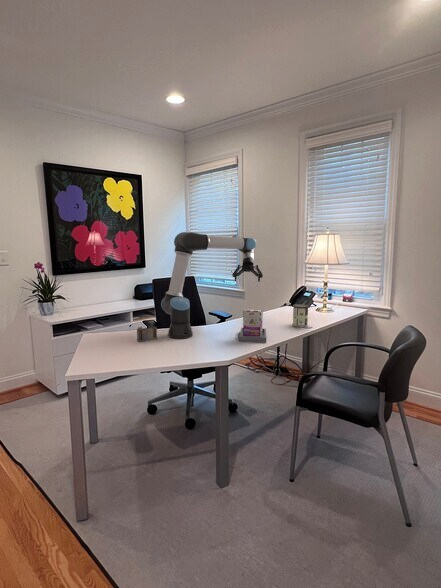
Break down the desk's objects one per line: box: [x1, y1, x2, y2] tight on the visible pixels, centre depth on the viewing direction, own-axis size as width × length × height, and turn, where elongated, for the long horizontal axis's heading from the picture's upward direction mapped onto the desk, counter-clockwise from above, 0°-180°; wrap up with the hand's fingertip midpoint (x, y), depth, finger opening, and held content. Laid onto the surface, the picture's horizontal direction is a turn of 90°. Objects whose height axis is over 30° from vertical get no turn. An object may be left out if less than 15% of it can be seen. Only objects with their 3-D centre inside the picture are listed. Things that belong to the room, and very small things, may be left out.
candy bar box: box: [242, 308, 264, 337], centre depth 215 cm, size 11×5×16 cm, turn 67°
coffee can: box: [292, 303, 309, 328], centre depth 246 cm, size 10×10×14 cm
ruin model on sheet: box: [136, 326, 158, 343], centre depth 208 cm, size 11×3×10 cm, turn 120°
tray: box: [238, 327, 267, 343], centre depth 217 cm, size 16×20×3 cm
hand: (247, 285), depth 231 cm, fingers open, 13 cm apart
